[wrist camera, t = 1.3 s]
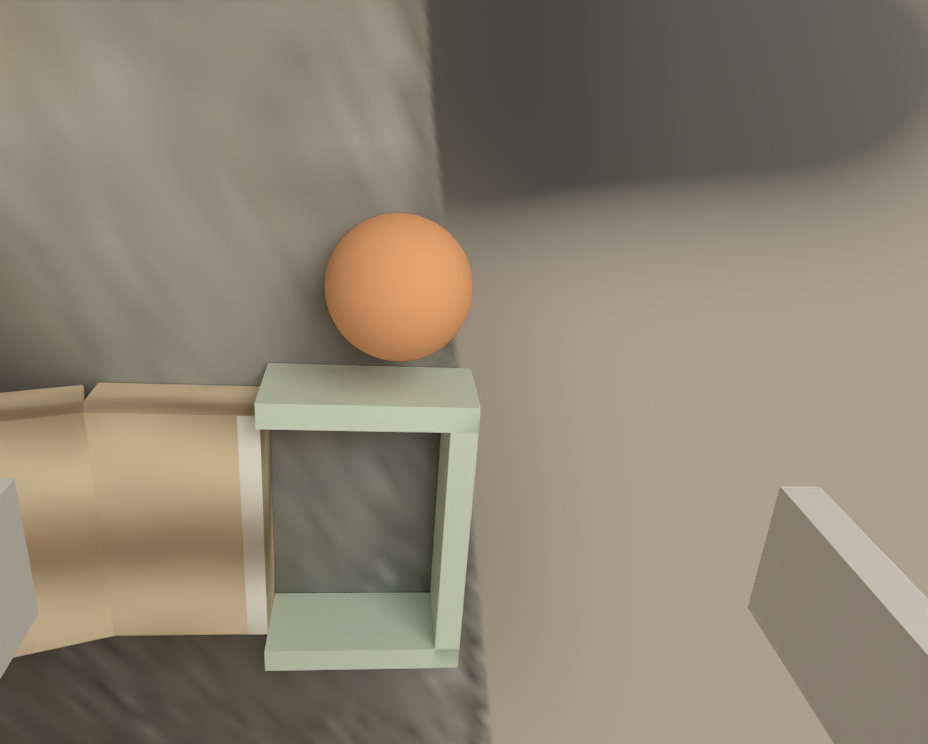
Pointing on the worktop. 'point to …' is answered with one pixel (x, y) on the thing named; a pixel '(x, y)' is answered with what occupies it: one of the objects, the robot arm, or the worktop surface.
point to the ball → (398, 286)
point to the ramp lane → (142, 510)
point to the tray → (439, 612)
